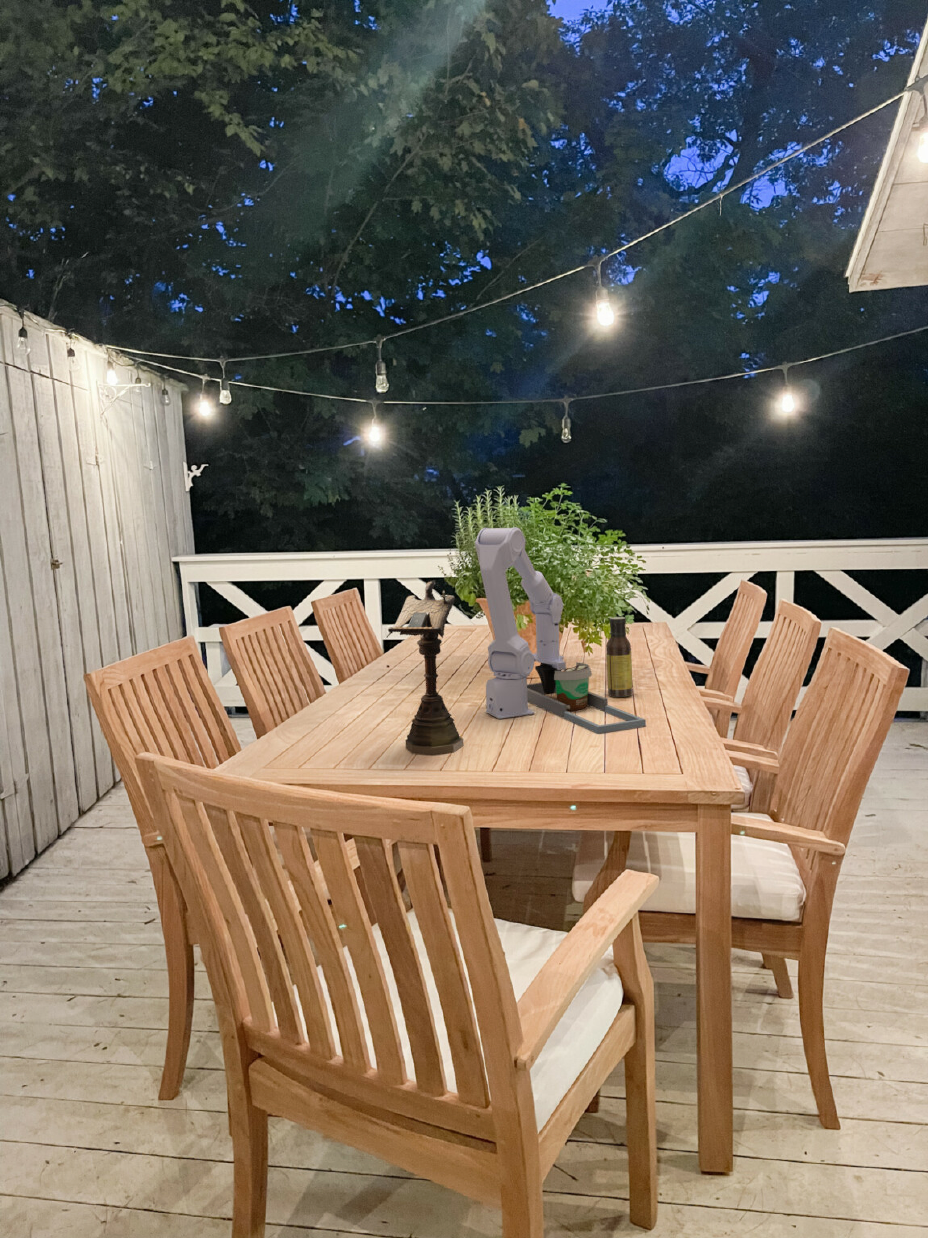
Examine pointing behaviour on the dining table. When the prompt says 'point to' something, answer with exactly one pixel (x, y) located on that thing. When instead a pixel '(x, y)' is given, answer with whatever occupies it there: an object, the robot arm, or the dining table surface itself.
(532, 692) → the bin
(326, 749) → the dining table surface
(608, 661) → the sauce bottle
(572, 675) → the food container
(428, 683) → the book lectern
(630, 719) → the frame
